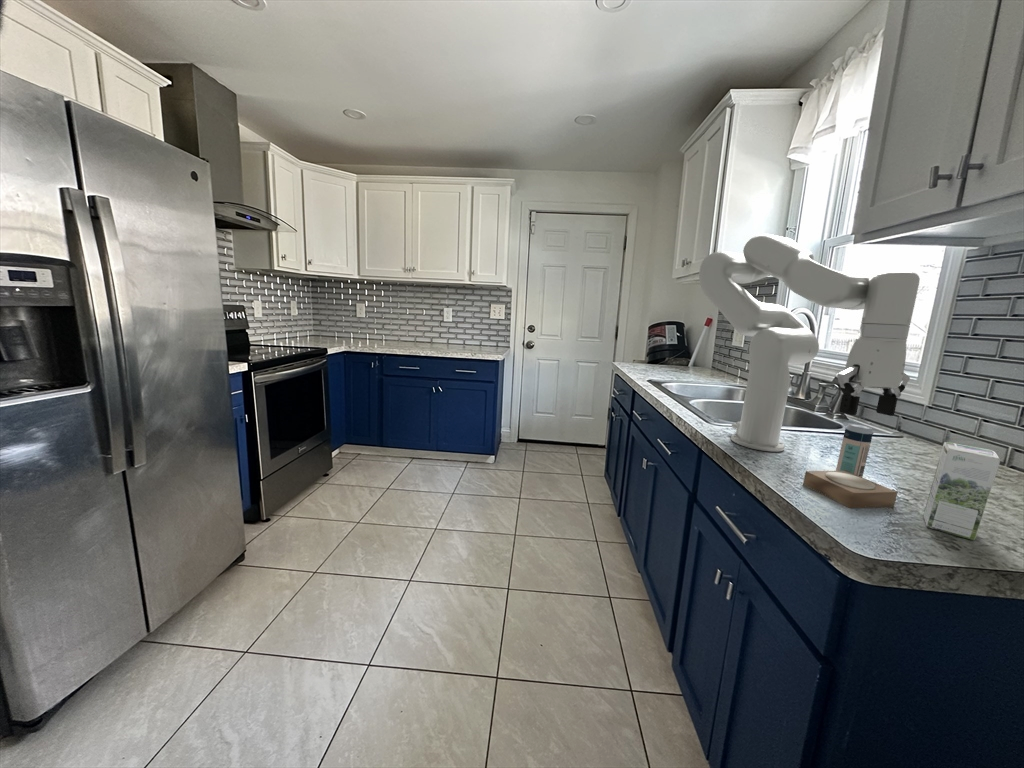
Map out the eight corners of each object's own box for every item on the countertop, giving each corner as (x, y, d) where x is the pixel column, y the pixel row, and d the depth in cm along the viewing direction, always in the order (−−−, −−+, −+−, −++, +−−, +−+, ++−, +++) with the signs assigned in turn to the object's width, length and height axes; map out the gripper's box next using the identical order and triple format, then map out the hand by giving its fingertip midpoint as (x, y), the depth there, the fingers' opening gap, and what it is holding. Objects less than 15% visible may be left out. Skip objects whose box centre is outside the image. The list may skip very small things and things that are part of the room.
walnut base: (802, 484, 84) (805, 469, 83) (842, 483, 86) (845, 469, 85) (850, 508, 74) (854, 491, 74) (893, 506, 76) (898, 490, 75)
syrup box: (969, 529, 69) (993, 448, 67) (975, 542, 65) (1001, 457, 62) (922, 516, 73) (943, 439, 70) (925, 528, 68) (948, 446, 66)
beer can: (857, 476, 91) (869, 425, 88) (865, 484, 86) (878, 430, 84) (831, 471, 93) (843, 421, 90) (838, 479, 88) (850, 426, 86)
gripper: (896, 335, 89) (880, 410, 92) (831, 330, 86) (816, 409, 88) (937, 336, 81) (918, 419, 84) (867, 332, 78) (850, 418, 81)
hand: (866, 414), depth 86 cm, fingers open, 9 cm apart
